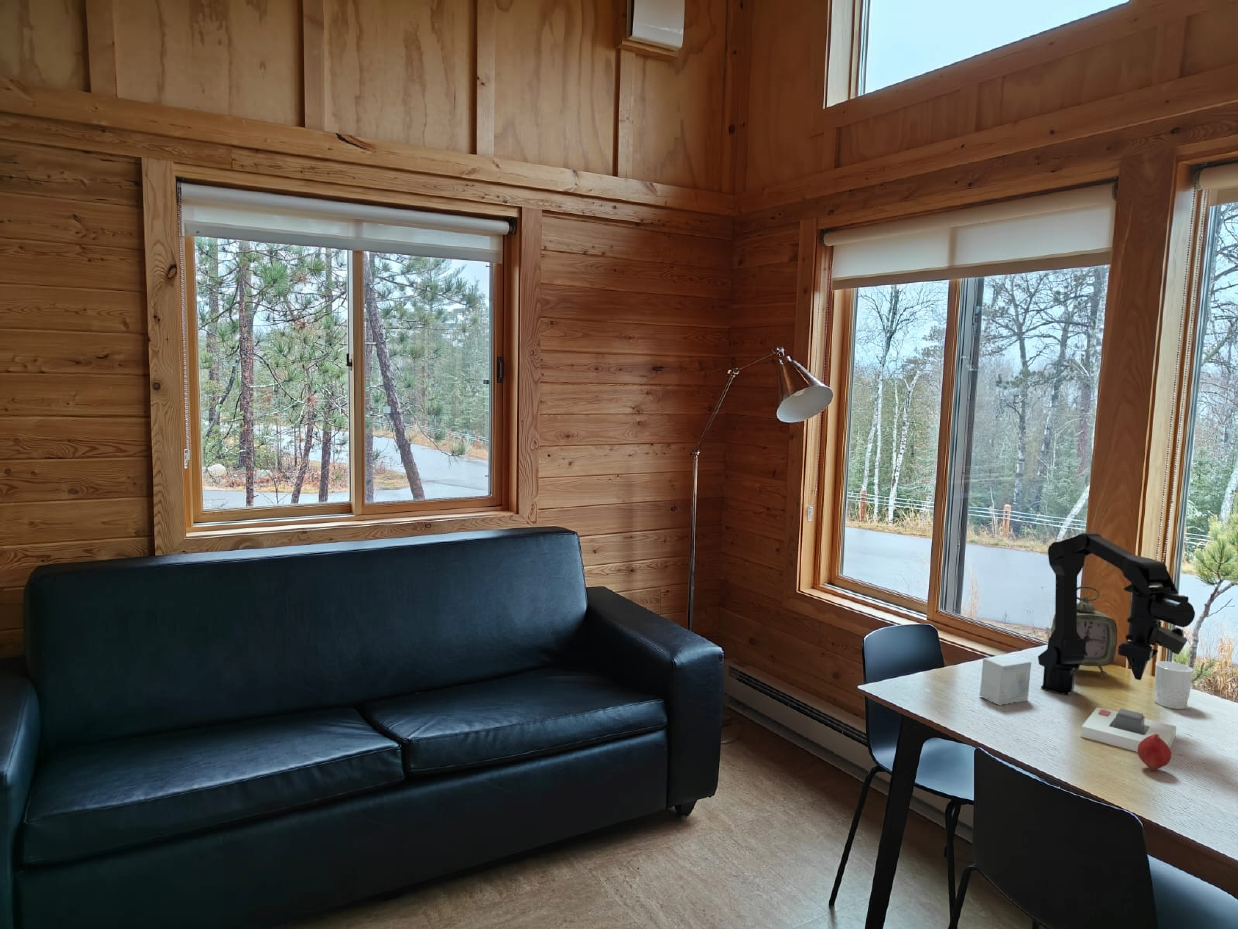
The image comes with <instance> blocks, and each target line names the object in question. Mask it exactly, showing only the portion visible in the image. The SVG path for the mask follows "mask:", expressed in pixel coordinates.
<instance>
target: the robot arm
mask: <svg viewBox="0 0 1238 929" xmlns="http://www.w3.org/2000/svg"><path fill="white" fill-rule="evenodd" d="M1092 554H1093V555H1094V556H1096V557H1097V558H1099V559H1102V560H1103V561H1105V562H1106V563H1108V564H1110V565H1112V566H1114V567H1115V568H1117V569H1118V570H1119V571H1121V574H1122V575H1123V578H1125V579H1126V580H1127V581H1129V583H1130V584H1129V585H1127V586H1125V587H1124V588H1123V590H1124V591H1125V592H1129V593H1131V597H1130V598H1131V599H1130V608H1129V616H1128V617H1127V620H1126V622H1127V623H1128V631H1127V633H1126V635H1125V641H1123V642H1121V643H1120V644H1119V645H1118V646H1117V655H1118V656H1122V657H1126V660H1127V661H1128V665H1129V667H1130V669H1131V672H1132V675H1133V677H1134V679H1135V680H1137V681H1141V680H1142V678H1143V675H1144V672H1145V670H1146V667H1147V664H1148V662H1149V661H1151V660H1152V659H1153V658H1154V657H1155V656H1156V654H1157V653H1159V650H1157V649H1153V646H1155V647H1156V646H1157V645H1158V647H1163V648H1165V649H1167V650H1168V651H1170V652H1171V653H1173V654H1174V655H1180V653H1181V652H1182V650H1183V649H1184V646H1185V645H1186V644H1187V642H1188V639H1187V637H1186V636H1184V635H1185V634H1184V629H1182V628H1186V627H1188V626H1190V625H1191V624H1193V623H1192V622H1194V619H1195V616H1196V611H1195V609H1194V606H1193V604H1191V603H1190V602H1189V597H1188V596H1186V595H1181V594H1178V593H1179V592H1178V590H1177V588H1176V585H1175V583H1174V581H1173V579H1172V577H1171V575H1170V572H1169V571H1168V566H1167V565H1166V564H1165V563H1163V562H1162V561H1160V560H1156V559H1152V558H1149V557H1144V556H1139V555H1136V554H1133V553H1132V552H1130V551H1128V550H1127V549H1124V548H1123V547H1121V546H1119V545H1118V544H1115V543H1114V542H1111V541H1110V540H1108V539H1106V538H1105V537H1103V536H1102V535H1101V534H1100V533H1097V532H1082V533H1080V534H1078V535H1075V536H1073V537H1070V538H1066V539H1063V540H1061V541H1054V542H1052V543H1051V544H1050V545H1049V546H1048V547H1047V556H1048V563H1049V566H1050V568H1051V570H1052V571H1053V573H1054V575H1055V596H1054V597H1055V601H1054V602H1055V603H1054V604H1055V610H1054V612H1055V613H1054V615H1055V630H1054V632H1053V633H1052V635H1051V634H1050V637H1049V638H1048V640H1047V648H1046V649H1045V650H1044V651H1043V652H1041V653H1040V654H1039V655H1038V656H1037V660H1038V665H1040V666H1042V667H1043V676H1042V677H1043V678H1042V679H1043V680H1042V685H1041V686H1040V689H1041V690H1045V691H1049V692H1052V693H1057V694H1062V695H1065V696H1067V695H1069V694H1070V693H1072V692H1073V691H1074V689H1075V679H1076V674H1075V673H1074V669H1075V668H1076V669H1079V670H1080V667H1081V665H1080V664H1081V662H1082V661H1083V660H1084V657H1085V655H1086V648H1085V647H1086V640H1085V639H1081V637H1080V636H1079V634H1078V632H1077V603H1078V599H1077V597H1078V590H1077V587H1078V576H1079V574H1080V573H1081V571H1082V569H1083V568H1084V566H1085V560H1086V557H1088V556H1090V555H1092ZM1162 622H1165V623H1167V624H1171V625H1173V626H1176V627H1174V628H1172V629H1169V628H1166V627H1163V626H1162Z"/></svg>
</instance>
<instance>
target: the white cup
mask: <svg viewBox="0 0 1238 929" xmlns="http://www.w3.org/2000/svg"><path fill="white" fill-rule="evenodd" d="M1193 672H1194V668H1192V667H1191V666H1189V665H1186V664H1183V663H1179V662H1173V661H1167V660H1166V661H1163V660H1161V661H1159V660H1158V661H1156V662H1155V675H1154V681H1155V682H1154V691H1155V694H1154V695H1155V696H1154V697H1155V698H1154V700H1155V703H1156V704H1157V705H1160V706H1162V707H1166V708H1170V709H1173V708H1176V709H1175V710H1184V708H1185V709H1186V708H1188V702H1189V698H1190V692H1191V685H1192V681H1193V680H1192V679H1193Z"/></svg>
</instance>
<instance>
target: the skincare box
mask: <svg viewBox="0 0 1238 929" xmlns="http://www.w3.org/2000/svg"><path fill="white" fill-rule="evenodd" d="M981 668H982V671H981V681H980V689H979V696H982V697H983V698H986V699H988V700H989V701H988V700H987V701H988V702H990V701H991V702H990V703H992V702H994V703H997V704H998V705H997V706H999V705H1000V706H1003V705H1002V704H1005V705H1009V704H1008V703H1011V704H1014V703H1013V702H1017V703H1022V701H1023V702H1026V701H1028V700H1029V689H1030V679H1031V670H1032V669H1031V668H1032V661H1030V660H1027V659H1024V658H1022V657H1020V656H1017V655H1015V654H1005V655H997V656H992V657H983V658H982V667H981ZM983 698H982V699H983ZM994 703H993V704H994Z"/></svg>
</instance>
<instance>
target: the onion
mask: <svg viewBox="0 0 1238 929" xmlns="http://www.w3.org/2000/svg"><path fill="white" fill-rule="evenodd" d="M1137 755H1138V758H1139V759H1140V760H1141V761H1142V763H1143V764H1145V766H1146V767H1147V768H1149V769H1150V770H1151V771H1158V770H1159V769H1161V768H1163V767H1165V766H1167V765H1168V764H1169V763H1170V760H1171V759H1172V752H1171V749H1169V747H1168V745H1167V744H1166V743H1165V742H1164V741H1163V740H1162V739H1161V738H1160V737H1159V734H1158V733H1155V734H1154V735H1151V736H1149V737H1146V738H1145V739H1144V740H1142V741H1141V742H1140V743H1139V745H1138V752H1137Z"/></svg>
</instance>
